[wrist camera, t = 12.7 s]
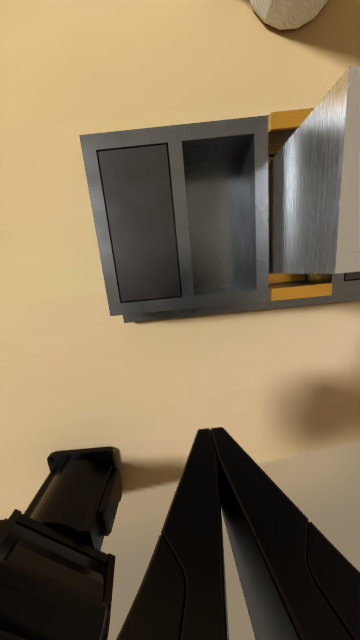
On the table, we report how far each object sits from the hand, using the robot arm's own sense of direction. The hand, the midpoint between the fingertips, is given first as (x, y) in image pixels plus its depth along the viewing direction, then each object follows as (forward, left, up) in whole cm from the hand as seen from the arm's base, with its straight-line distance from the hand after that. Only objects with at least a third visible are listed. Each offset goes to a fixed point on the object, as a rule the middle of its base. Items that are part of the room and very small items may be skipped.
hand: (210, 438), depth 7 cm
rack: (+5, +8, -12) cm, 16 cm away
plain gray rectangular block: (+7, +8, -11) cm, 16 cm away
